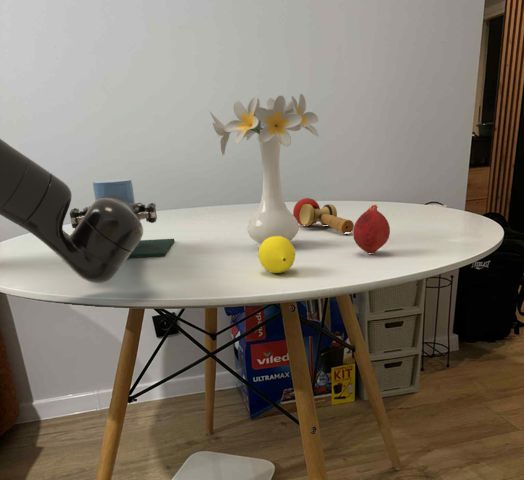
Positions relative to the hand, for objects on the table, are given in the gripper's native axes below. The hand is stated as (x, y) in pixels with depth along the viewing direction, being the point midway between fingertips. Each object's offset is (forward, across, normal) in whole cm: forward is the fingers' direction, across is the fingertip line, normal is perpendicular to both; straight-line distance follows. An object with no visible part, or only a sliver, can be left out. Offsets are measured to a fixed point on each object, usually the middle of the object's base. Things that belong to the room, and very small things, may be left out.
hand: (116, 210), depth 93 cm
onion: (-22, +41, -8) cm, 47 cm away
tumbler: (0, 0, +5) cm, 5 cm away
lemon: (-28, +24, -8) cm, 37 cm away
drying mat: (-1, 0, -7) cm, 7 cm away
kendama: (+4, +42, -8) cm, 42 cm away
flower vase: (-10, +27, -8) cm, 30 cm away
